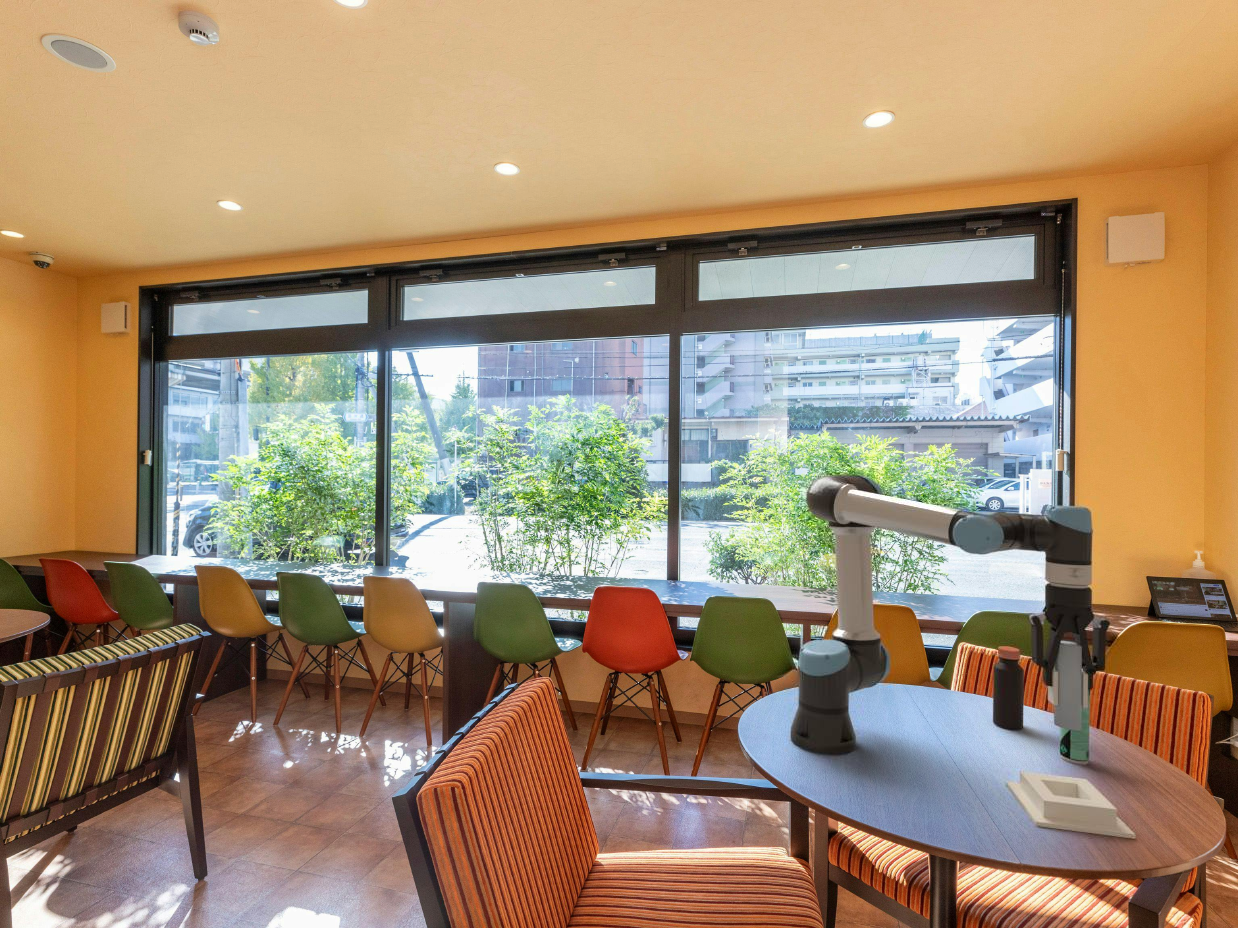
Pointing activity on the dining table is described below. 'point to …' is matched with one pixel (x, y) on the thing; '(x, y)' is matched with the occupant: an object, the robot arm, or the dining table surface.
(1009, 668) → the bottle
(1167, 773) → the dining table surface
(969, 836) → the dining table surface
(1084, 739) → the spray can
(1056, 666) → the peg
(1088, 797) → the socket
